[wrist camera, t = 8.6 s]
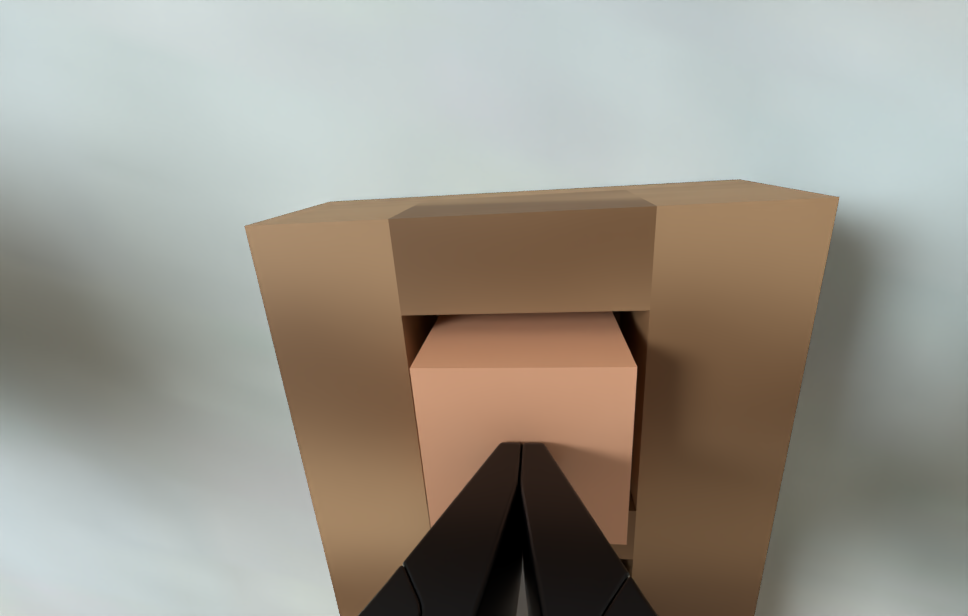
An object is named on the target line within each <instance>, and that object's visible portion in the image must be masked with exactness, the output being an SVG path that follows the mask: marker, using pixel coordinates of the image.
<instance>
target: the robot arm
mask: <svg viewBox="0 0 968 616" xmlns="http://www.w3.org/2000/svg"><path fill="white" fill-rule="evenodd" d="M522 560H523V571H524V583H525V593H526V602H527V612H528V616H658V615H657V613H656V612H655V611H654V609H653V608H652V606H651V605H650V603H649V602H648V601H647V599H646V598H645V596H644V595H643V593H642V592H641V590H640V588H639V587H638V585H637V584H636V582H635V581H634V579H633V578H631V577H630V574H629V572H628V571H627V569H626V568H625V566H624V564H623V563H622V561H621V560H620V558H619V557H618V555H617V554H616V552H615V551H614V549H613V548H612V546H611V545H610V543H609V542H608V540H607V539H606V537H605V536H604V534H603V532H602V531H601V529H600V528H599V526H598V525H597V523H596V522H595V520H594V519H593V517H592V516H591V514H590V513H589V511H588V510H587V508H586V507H585V505H584V504H583V502H582V500H581V499H580V497H579V496H578V494H577V493H576V491H575V490H574V488H573V487H572V485H571V484H570V482H569V481H568V479H567V478H566V476H565V475H564V473H563V472H562V470H561V468H560V467H559V465H558V464H557V462H556V461H555V459H554V458H553V456H552V455H551V453H550V452H549V450H548V449H547V447H546V446H545V444H543V443H524V444H523V445H521V444H520V443H518V442H502V443H500V444H499V445H498V446H497V447H496V448H495V450H494V451H493V452H492V453H491V455H490V456H489V457H488V458H487V460H486V461H485V462H484V463H483V464H482V466H481V467H480V468H479V469H478V471H477V472H476V473H475V474H474V476H473V477H472V478H471V479H470V480H469V482H468V483H467V484H466V485H465V487H464V488H463V489H462V490H461V492H460V493H459V494H458V495H457V496H456V498H455V499H454V500H453V501H452V503H451V504H450V505H449V506H448V508H447V509H446V510H445V511H444V513H443V514H442V515H441V516H440V517H439V519H438V520H437V521H436V522H435V524H434V525H433V526H432V527H431V529H430V530H429V531H428V532H427V533H426V535H425V536H424V537H423V538H422V540H421V541H420V542H419V543H418V545H417V546H416V547H415V548H414V549H413V551H412V552H411V553H410V554H409V556H408V557H407V558H406V559H405V561H404V562H403V566H399V568H398V569H397V570H396V571H395V573H394V574H393V575H392V576H391V577H390V579H389V580H388V581H387V582H386V584H385V585H384V586H383V587H382V588H381V589H380V591H379V592H378V593H377V594H376V595H375V596H374V598H373V599H372V600H371V601H370V602H369V603H368V604H367V606H366V607H365V608H364V609H363V610H362V611H361V612H360V613H359V615H358V616H516V614H517V606H518V599H519V591H520V584H521V574H522Z"/></svg>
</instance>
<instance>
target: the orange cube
mask: <svg viewBox="0 0 968 616" xmlns="http://www.w3.org/2000/svg"><path fill="white" fill-rule="evenodd" d="M410 375H411V382H412V390H413V397H414V405H415V412H416V420H417V427H418V434H419V442H420V449H421V457H422V464H423V472H424V479H425V487H426V494H427V502H428V509H429V516H430V524H431V527H432V526H433V525H434V524H435V522H436V521H437V520H438V519H439V517H440V516H441V515H442V514H443V513H444V511H445V510H446V509H447V508H448V506H449V505H450V504H451V503H452V501H453V500H454V499H455V498H456V496H457V495H458V494H459V493H460V492H461V490H462V489H463V488H464V487H465V485H466V484H467V483H468V482H469V480H470V479H471V478H472V477H473V476H474V474H475V473H476V472H477V471H478V469H479V468H480V467H481V466H482V464H483V463H484V462H485V461H486V460H487V458H488V457H489V456H490V455H491V453H492V452H493V451H494V450H495V448H496V447H497V446H498V445H499V444H500V443H502V442H518V443H520V444H521V445H523V444H524V443H543V444H545V446H546V447H547V449H548V450H549V452H550V453H551V455H552V456H553V458H554V459H555V461H556V462H557V464H558V465H559V467H560V468H561V470H562V472H563V473H564V475H565V476H566V478H567V479H568V481H569V482H570V484H571V485H572V487H573V488H574V490H575V491H576V493H577V494H578V496H579V497H580V499H581V500H582V502H583V504H584V505H585V507H586V508H587V510H588V511H589V513H590V514H591V516H592V517H593V519H594V520H595V522H596V523H597V525H598V526H599V528H600V529H601V531H602V532H603V534H604V536H605V537H606V539H607V540H608V542H609V543H610V544H622V545H627V529H628V512H629V496H630V479H631V463H632V446H633V430H634V413H635V396H636V380H637V365H636V363H635V361H634V359H633V357H632V354H631V352H630V350H629V348H628V346H627V343H626V341H625V339H624V337H623V335H622V332H621V330H620V328H619V326H618V324H617V321H616V319H615V317H614V315H613V313H612V311H597V312H549V313H500V314H451V315H439V317H438V319H437V320H436V322H435V324H434V326H433V328H432V329H431V331H430V333H429V335H428V336H427V338H426V340H425V342H424V344H423V345H422V347H421V349H420V351H419V353H418V354H417V356H416V358H415V360H414V361H413V363H412V365H411V367H410Z"/></svg>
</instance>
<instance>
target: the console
mask: <svg viewBox="0 0 968 616" xmlns="http://www.w3.org/2000/svg"><path fill="white" fill-rule="evenodd" d="M838 201H839V197H835V196H829V195H824V194H818V193H812V192H807V191H801V190H795V189H790V188H784V187H779V186H773V185H767V184H762V183H756V182H750V181H745V180H722V181H704V182H685V183H667V184H648V185H630V186H611V187H593V188H574V189H556V190H538V191H519V192H501V193H482V194H464V195H445V196H427V197H408V198H390V199H371V200H353V201H334V202H327V203H324V204H320V205H317V206H313V207H310V208H306V209H303V210H299V211H296V212H292V213H289V214H285V215H282V216H278V217H274V218H271V219H267V220H264V221H260V222H257V223H253V224H250V225H246V226H245V230H246V234H247V238H248V242H249V246H250V250H251V254H252V258H253V262H254V267H255V271H256V275H257V279H258V283H259V287H260V291H261V295H262V299H263V303H264V307H265V311H266V315H267V320H268V324H269V328H270V332H271V336H272V340H273V344H274V348H275V352H276V356H277V360H278V364H279V368H280V372H281V377H282V381H283V385H284V389H285V393H286V397H287V401H288V405H289V409H290V413H291V417H292V421H293V425H294V430H295V434H296V438H297V442H298V446H299V450H300V454H301V458H302V462H303V466H304V470H305V474H306V478H307V482H308V487H309V491H310V495H311V499H312V503H313V507H314V511H315V515H316V519H317V523H318V527H319V531H320V535H321V539H322V544H323V548H324V552H325V556H326V560H327V564H328V568H329V572H330V576H331V580H332V584H333V588H334V592H335V597H336V601H337V605H338V609H339V613H340V616H358V615H359V613H360V612H361V611H362V610H363V609H364V608H365V607H366V606H367V604H368V603H369V602H370V601H371V600H372V599H373V598H374V596H375V595H376V594H377V593H378V592H379V591H380V589H381V588H382V587H383V586H384V585H385V584H386V582H387V581H388V580H389V579H390V577H391V576H392V575H393V574H394V573H395V571H396V570H397V569H398V568H399V566H403V562H404V561H405V559H406V558H407V557H408V556H409V554H410V553H411V552H412V551H413V549H414V548H415V547H416V546H417V545H418V543H419V542H420V541H421V540H422V538H423V537H424V536H425V535H426V533H427V532H428V531H429V530H430V529H431V524H430V516H429V509H428V502H427V494H426V487H425V479H424V472H423V464H422V457H421V449H420V442H419V434H418V427H417V420H416V412H415V405H414V397H413V390H412V382H411V375H410V367H411V365H412V363H413V361H414V360H415V358H416V356H417V354H418V353H419V351H420V349H421V347H422V345H423V344H424V342H425V340H426V338H427V336H428V335H429V333H430V331H431V329H432V328H433V326H434V324H435V322H436V320H437V319H438V317H439V315H451V314H500V313H549V312H597V311H612V313H613V315H614V317H615V319H616V321H617V324H618V326H619V328H620V330H621V332H622V335H623V337H624V339H625V341H626V343H627V346H628V348H629V350H630V352H631V354H632V357H633V359H634V361H635V363H636V365H637V380H636V396H635V413H634V430H633V446H632V463H631V479H630V496H629V512H628V529H627V545H622V544H610V545H611V546H612V548H613V549H614V551H615V552H616V554H617V555H618V557H619V558H620V560H621V561H622V563H623V564H624V566H625V568H626V569H627V571H628V572H629V574H630V577H631V578H633V579H634V581H635V582H636V584H637V585H638V587H639V588H640V590H641V592H642V593H643V595H644V596H645V598H646V599H647V601H648V602H649V603H650V605H651V606H652V608H653V609H654V611H655V612H656V613H657V615H658V616H754V614H755V609H756V604H757V599H758V594H759V590H760V585H761V580H762V575H763V570H764V565H765V560H766V555H767V550H768V545H769V540H770V535H771V531H772V526H773V521H774V516H775V511H776V506H777V501H778V496H779V491H780V486H781V481H782V476H783V472H784V467H785V462H786V457H787V452H788V447H789V442H790V437H791V432H792V427H793V422H794V417H795V413H796V408H797V403H798V398H799V393H800V388H801V383H802V378H803V373H804V368H805V363H806V358H807V354H808V349H809V344H810V339H811V334H812V329H813V324H814V319H815V314H816V309H817V304H818V299H819V295H820V290H821V285H822V280H823V275H824V270H825V265H826V260H827V255H828V250H829V245H830V240H831V236H832V231H833V226H834V221H835V216H836V211H837V206H838Z"/></svg>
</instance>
